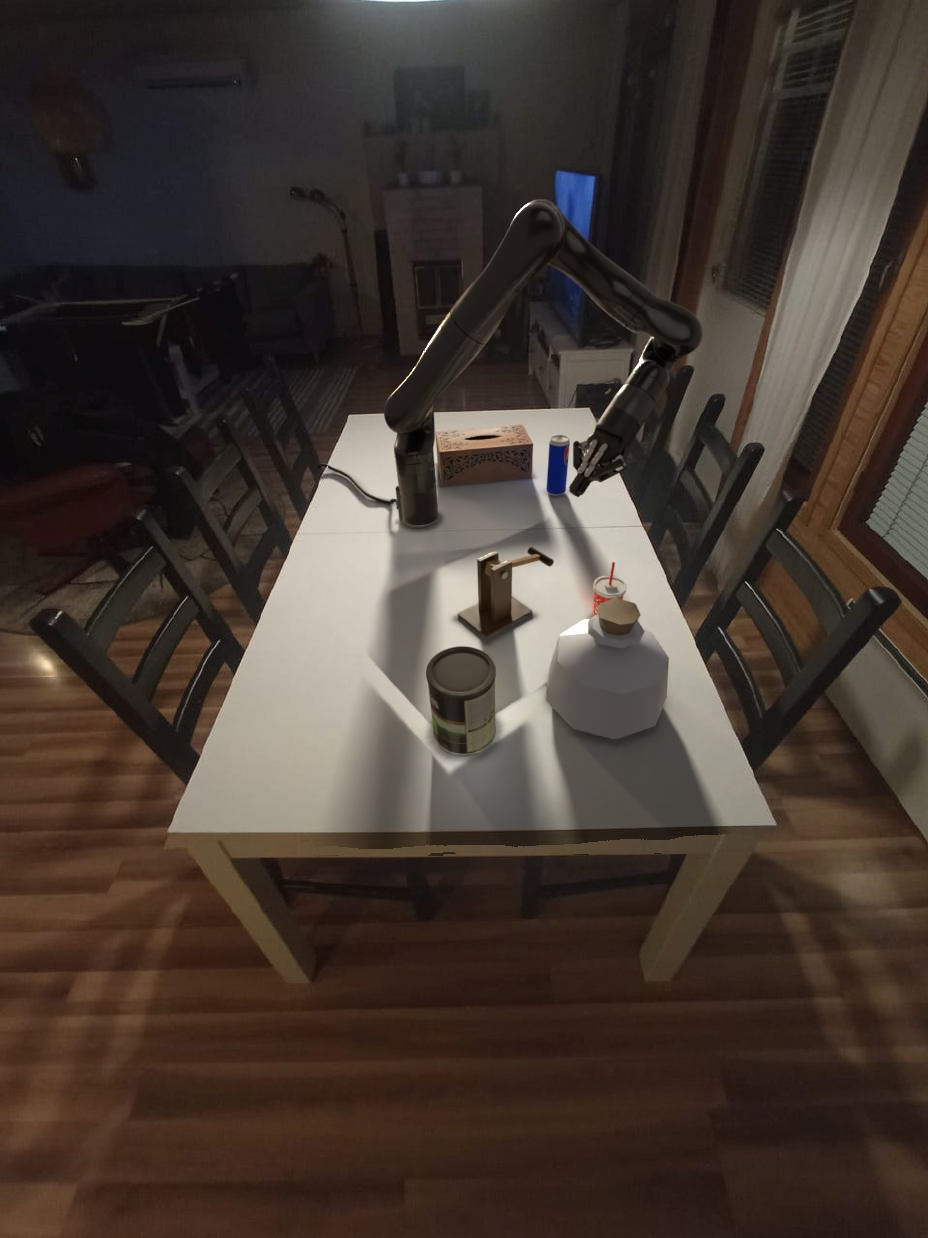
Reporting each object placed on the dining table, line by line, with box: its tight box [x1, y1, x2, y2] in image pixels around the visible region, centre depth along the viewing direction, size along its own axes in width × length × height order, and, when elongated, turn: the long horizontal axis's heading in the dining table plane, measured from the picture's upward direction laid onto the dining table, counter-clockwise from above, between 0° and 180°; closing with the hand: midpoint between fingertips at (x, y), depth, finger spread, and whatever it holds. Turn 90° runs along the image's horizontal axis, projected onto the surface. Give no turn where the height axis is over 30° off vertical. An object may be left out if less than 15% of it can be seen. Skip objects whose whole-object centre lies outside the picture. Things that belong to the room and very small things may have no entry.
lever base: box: [457, 550, 533, 639], centre depth 108 cm, size 12×9×14 cm
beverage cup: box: [592, 561, 628, 617], centre depth 105 cm, size 6×6×14 cm
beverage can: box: [546, 434, 571, 497], centre depth 147 cm, size 5×5×15 cm
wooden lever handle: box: [485, 546, 554, 577], centre depth 108 cm, size 14×6×2 cm, turn 127°
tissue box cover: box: [435, 423, 534, 487], centre depth 160 cm, size 26×14×10 cm, turn 97°
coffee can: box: [425, 645, 497, 757], centre depth 86 cm, size 10×10×14 cm
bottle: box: [545, 598, 670, 740], centre depth 89 cm, size 20×20×19 cm
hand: (573, 494), depth 109 cm, fingers closed
